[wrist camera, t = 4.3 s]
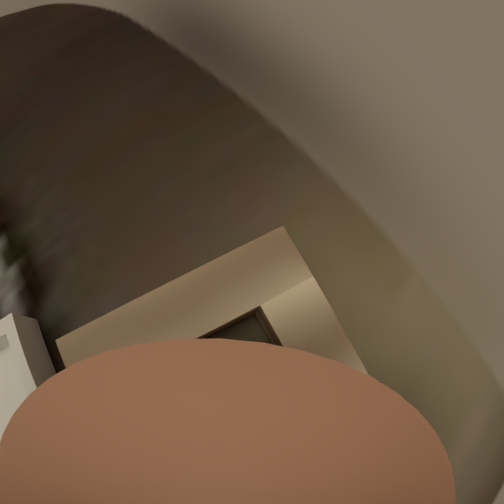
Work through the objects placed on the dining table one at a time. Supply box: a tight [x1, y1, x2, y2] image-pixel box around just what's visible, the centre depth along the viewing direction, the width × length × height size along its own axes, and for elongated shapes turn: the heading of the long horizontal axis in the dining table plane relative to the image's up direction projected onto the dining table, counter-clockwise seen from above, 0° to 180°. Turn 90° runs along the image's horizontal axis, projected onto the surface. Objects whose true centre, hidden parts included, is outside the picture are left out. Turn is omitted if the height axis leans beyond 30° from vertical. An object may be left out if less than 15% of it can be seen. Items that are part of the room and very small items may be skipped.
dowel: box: [0, 338, 456, 504], centre depth 8 cm, size 5×5×13 cm
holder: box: [55, 226, 368, 375], centre depth 13 cm, size 11×11×3 cm
